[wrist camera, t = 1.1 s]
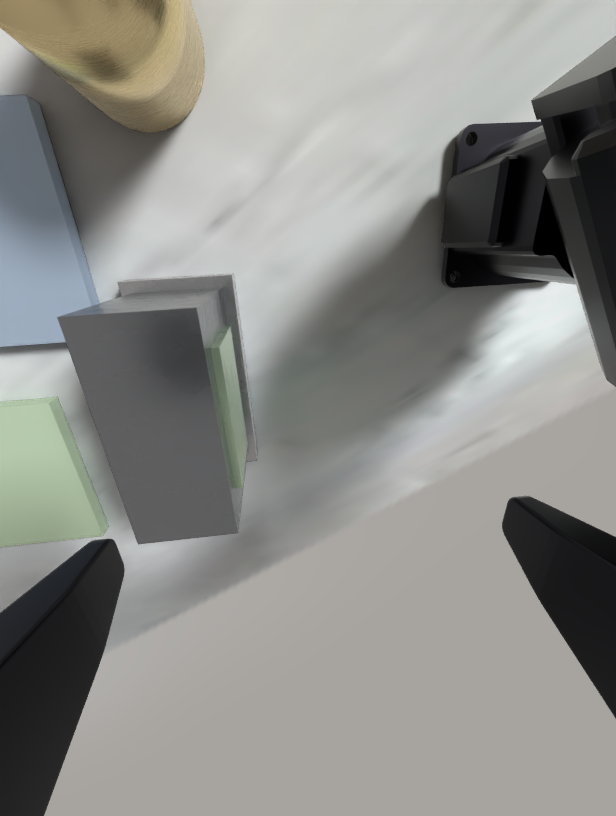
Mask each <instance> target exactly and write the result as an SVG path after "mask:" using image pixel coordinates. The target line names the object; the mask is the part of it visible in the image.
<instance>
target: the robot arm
mask: <svg viewBox="0 0 616 816" xmlns="http://www.w3.org/2000/svg"><path fill="white" fill-rule="evenodd" d="M531 102H532V105H533V109H534V112H535V115H536V119H537V120H539V119H541V122H521V123H492V124H472V125H469V126H467V127H466V128H464V129H463V130H462V131H460V133H459V134H458V136H457V139H456V145H455V154H454V164H453V173H452V178H451V179H450V181H449V182H448V183H447V191H446V201H445V211H444V221H443V230H442V240H441V242H442V244H443V245H444V247H445V248H444V258H443V267H442V276H441V278H442V283H443V284H444V285H445V286H447V287H452V288H458V287H473V286H488V285H502V284H517V283H532V282H547V281H551V282H559V283H568V284H576V286H577V289H578V292H579V296H580V299H581V302H582V306H583V309H584V312H585V316H586V319H587V322H588V326H589V329H590V332H591V336H592V339H593V342H594V346H595V349H596V352H597V356H598V359H599V362H600V365H601V367H602V370H603V372H604V374H605V377H606V379H607V381H609V382H610V383H611V384H613V385H614V386H615V387H616V36H615V37H614V38H612V39H611V40H610V41H608V42H607V43H606V44H604V45H603V46H602V47H601V48H599V49H598V50H597V51H595V52H594V53H593V54H591V55H590V56H589V57H587V58H586V59H585V60H583V61H582V62H581V63H579V64H578V65H577V66H575V67H574V68H573V69H572V70H570V71H569V72H568V73H566V74H565V75H564V76H562V77H561V78H560V79H558V80H557V81H556V82H554V83H553V84H552V85H550V86H549V87H548V88H547V89H545V90H544V91H543V92H541V93H540V94H539V95H537V96H536V97H535V98H533V99H532V100H531ZM468 134H469V135H471V136H472V139H473V142H472V145H471V146H468V145H467V143H466V137H467V135H468ZM453 272H455V273H456V278H455V280H454V281H452V282H451V281H450V275H451V274H452V273H453ZM502 529H503V532H504V535H505V537H506V539H507V541H508V543H509V545H510V546H511V548H512V550H513V552H514V554H515V556H516V558H517V560H518V562H519V563H520V565H521V567H522V569H523V571H524V573H525V575H526V577H527V579H528V581H529V583H530V584H531V586H532V588H533V590H534V592H535V593H536V595H537V597H538V599H539V600H540V602H541V604H542V605H543V607H544V608H545V610H546V612H547V613H548V614H549V616H550V618H551V619H552V621H553V622H554V624H555V625H556V627H557V628H558V630H559V631H560V633H561V635H562V636H563V638H564V639H565V641H566V642H567V644H568V645H569V647H570V648H571V650H572V651H573V653H574V655H575V656H576V658H577V659H578V661H579V662H580V664H581V666H582V667H583V669H584V670H585V672H586V673H587V675H588V676H589V678H590V679H591V681H592V682H593V684H594V686H595V687H596V689H597V690H598V691H599V693H600V695H601V696H602V698H603V699H604V701H605V703H606V704H607V706H608V707H609V709H610V710H611V712H612V713H613V715H614V716H615V718H616V537H614V536H612V535H610V534H608V533H606V532H604V531H602V530H600V529H597V528H595V527H593V526H591V525H589V524H587V523H585V522H583V521H581V520H579V519H577V518H574V517H572V516H570V515H568V514H566V513H564V512H562V511H560V510H558V509H556V508H553V507H551V506H549V505H547V504H545V503H543V502H541V501H538V500H537V499H534V498H532V497H530V496H519V497H512V498H510V499H509V501H508V503H507V507H506V511H505V514H504V518H503V522H502ZM123 577H124V564H123V561H122V559H121V556H120V553H119V551H118V548H117V546H116V543H115V541H114V540H112V539H101V540H94V541H91V542H89V543H88V544H87V545H85V546H84V547H83V548H82V549H80V550H79V551H78V552H76V553H75V554H74V555H73V556H71V557H70V558H69V559H68V560H66V561H65V562H64V563H63V564H61V565H60V566H59V567H57V568H56V569H55V570H54V571H52V572H51V573H50V574H49V575H47V576H46V577H45V578H44V579H42V580H41V581H40V582H39V583H37V584H36V585H35V586H33V587H32V588H31V589H30V590H28V591H27V592H26V593H25V594H23V595H22V596H21V597H20V598H18V599H17V600H16V601H14V602H13V603H12V604H11V605H9V606H8V607H7V608H6V609H4V610H3V611H2V612H1V613H0V816H44V814H45V811H46V809H47V806H48V803H49V801H50V797H51V795H52V792H53V790H54V787H55V784H56V781H57V779H58V776H59V773H60V770H61V768H62V765H63V762H64V760H65V756H66V754H67V751H68V749H69V746H70V743H71V740H72V738H73V735H74V732H75V730H76V726H77V724H78V721H79V719H80V716H81V713H82V710H83V708H84V705H85V702H86V700H87V697H88V694H89V691H90V688H91V686H92V683H93V680H94V678H95V675H96V672H97V670H98V667H99V664H100V661H101V658H102V655H103V652H104V649H105V646H106V642H107V639H108V635H109V631H110V627H111V623H112V619H113V616H114V612H115V608H116V604H117V600H118V596H119V593H120V589H121V585H122V581H123Z"/></svg>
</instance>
